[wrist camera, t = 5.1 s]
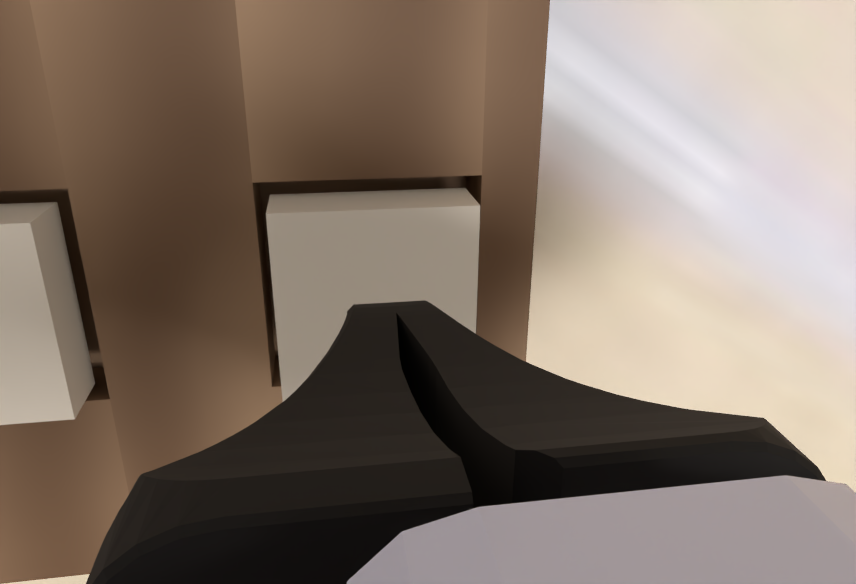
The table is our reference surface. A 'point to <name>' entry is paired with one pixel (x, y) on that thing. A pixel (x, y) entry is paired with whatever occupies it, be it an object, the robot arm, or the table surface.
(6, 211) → the button
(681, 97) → the table surface
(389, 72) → the button board
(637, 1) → the table surface
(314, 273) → the button
